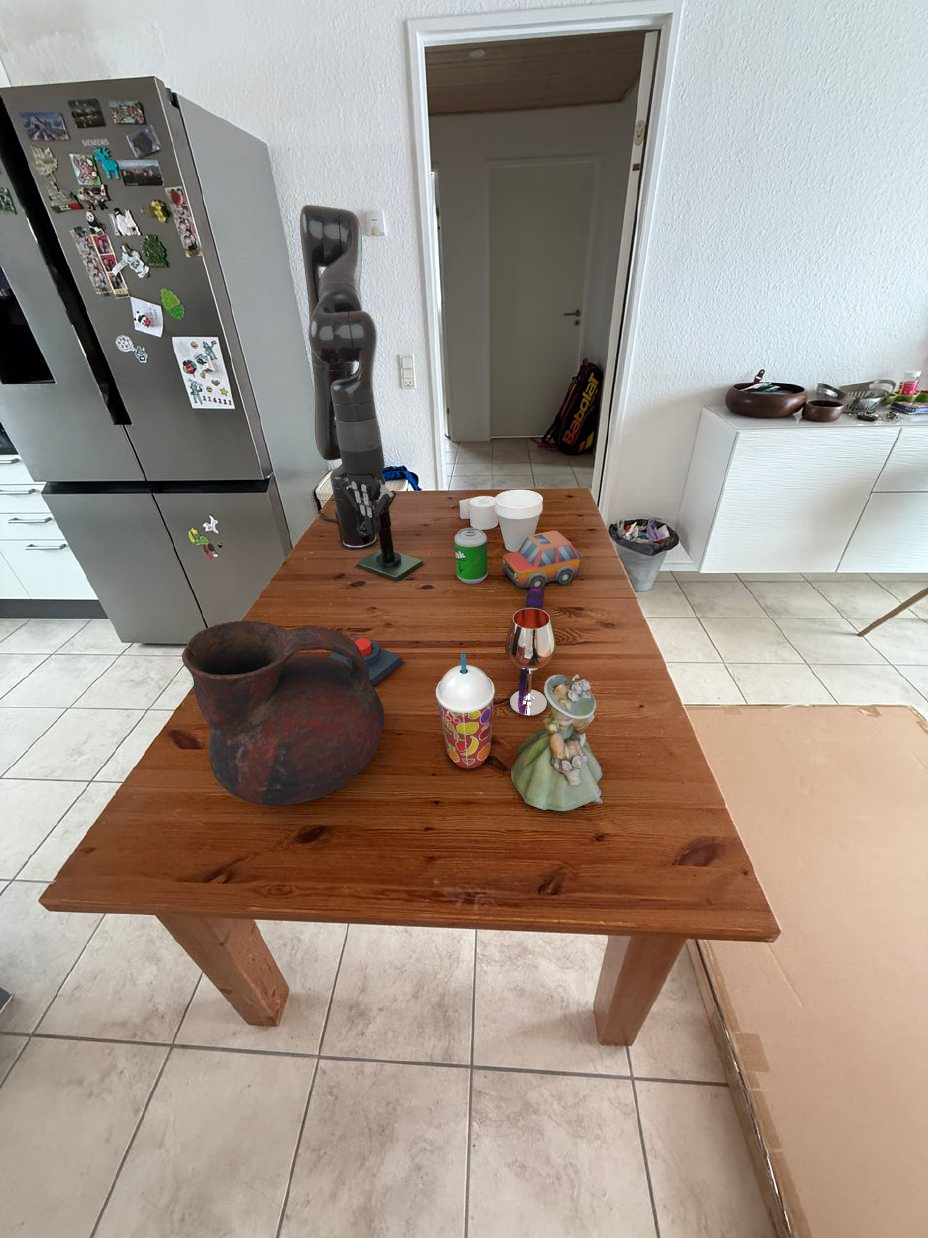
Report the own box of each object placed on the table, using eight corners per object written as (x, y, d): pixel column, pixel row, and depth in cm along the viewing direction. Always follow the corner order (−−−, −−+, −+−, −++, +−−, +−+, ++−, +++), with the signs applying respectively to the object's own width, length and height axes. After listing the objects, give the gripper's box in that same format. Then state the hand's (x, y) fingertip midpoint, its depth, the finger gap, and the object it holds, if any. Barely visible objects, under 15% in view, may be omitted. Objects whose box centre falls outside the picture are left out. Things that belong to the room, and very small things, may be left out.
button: (349, 653, 98) (347, 646, 97) (362, 643, 100) (361, 636, 99) (362, 659, 96) (360, 652, 95) (375, 649, 98) (374, 642, 97)
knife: (527, 602, 115) (527, 583, 112) (543, 603, 114) (544, 584, 111) (507, 720, 85) (507, 697, 82) (529, 722, 84) (530, 700, 81)
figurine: (571, 852, 66) (585, 749, 55) (486, 794, 74) (482, 693, 62) (622, 779, 75) (644, 677, 63) (542, 734, 83) (547, 636, 71)
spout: (378, 521, 127) (375, 500, 124) (393, 522, 127) (390, 500, 123) (358, 549, 115) (353, 526, 112) (374, 550, 115) (370, 526, 112)
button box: (328, 664, 100) (325, 650, 98) (358, 643, 105) (355, 629, 103) (372, 686, 94) (369, 672, 92) (401, 663, 99) (399, 649, 97)
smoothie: (441, 736, 83) (431, 639, 72) (492, 731, 84) (489, 634, 72) (444, 778, 77) (433, 679, 65) (499, 773, 77) (498, 673, 65)
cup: (548, 542, 139) (551, 493, 131) (528, 561, 130) (529, 511, 122) (508, 533, 144) (508, 486, 136) (486, 551, 136) (485, 502, 128)
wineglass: (556, 691, 91) (562, 607, 80) (547, 724, 84) (552, 638, 74) (511, 683, 93) (512, 600, 83) (499, 714, 87) (498, 629, 77)
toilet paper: (460, 518, 154) (459, 496, 150) (498, 517, 153) (497, 495, 149) (459, 530, 147) (458, 507, 143) (498, 529, 147) (498, 506, 143)
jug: (394, 817, 72) (367, 684, 57) (209, 849, 69) (131, 719, 55) (387, 695, 92) (365, 576, 78) (243, 717, 89) (193, 597, 75)
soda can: (488, 570, 127) (487, 526, 121) (486, 586, 121) (485, 540, 114) (458, 570, 128) (456, 526, 121) (455, 585, 122) (452, 540, 115)
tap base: (356, 566, 132) (349, 527, 126) (383, 551, 139) (377, 513, 132) (396, 581, 125) (391, 540, 119) (422, 564, 132) (418, 525, 125)
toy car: (499, 573, 126) (499, 536, 120) (560, 559, 130) (562, 523, 124) (519, 596, 117) (519, 557, 111) (583, 580, 121) (587, 542, 115)
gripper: (402, 443, 89) (412, 533, 99) (350, 432, 96) (364, 517, 106) (371, 455, 84) (385, 548, 94) (319, 443, 91) (337, 531, 101)
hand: (374, 532), depth 100 cm, fingers closed
